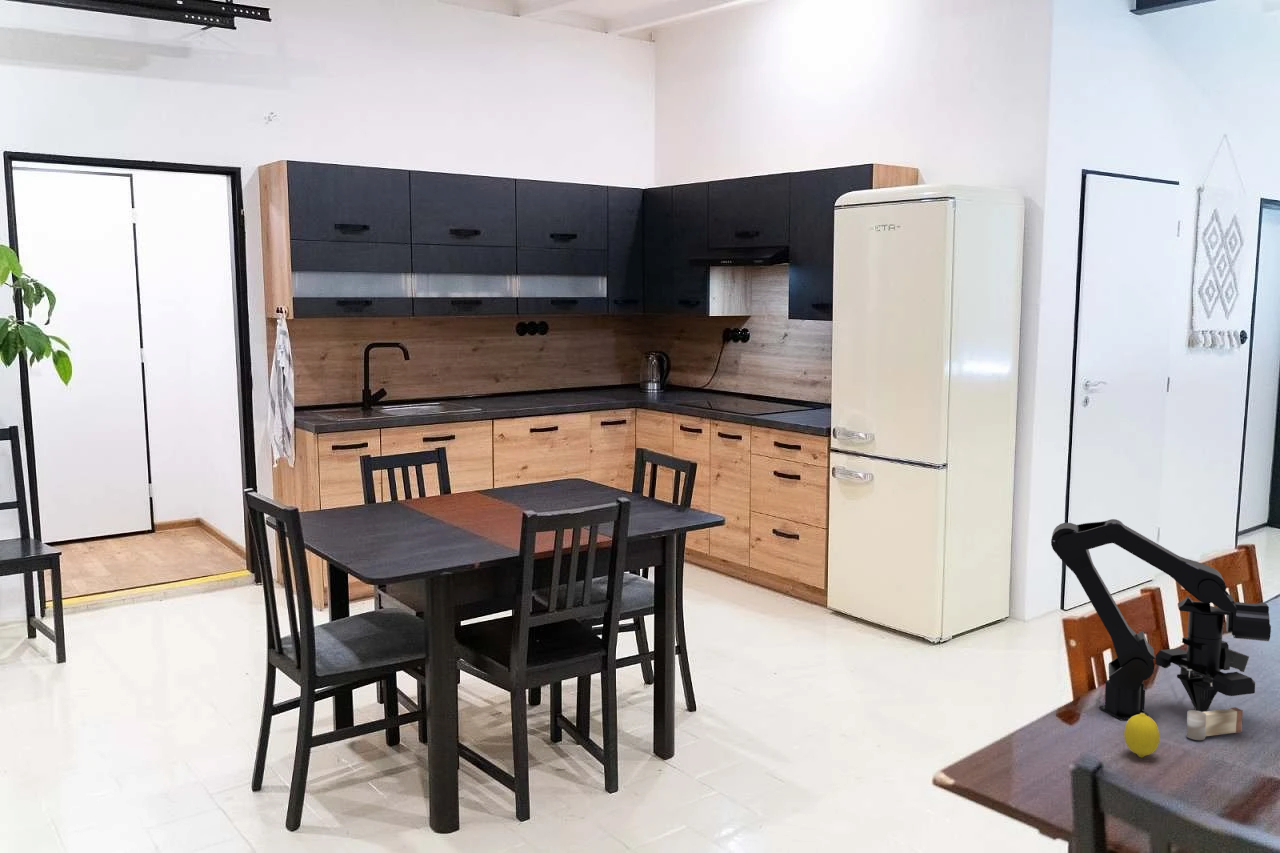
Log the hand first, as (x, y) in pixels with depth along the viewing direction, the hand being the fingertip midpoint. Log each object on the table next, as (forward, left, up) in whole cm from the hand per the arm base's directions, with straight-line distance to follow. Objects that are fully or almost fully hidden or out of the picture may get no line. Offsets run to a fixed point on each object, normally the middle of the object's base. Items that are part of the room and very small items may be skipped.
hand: (1201, 715), depth 195 cm
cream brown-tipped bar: (-3, -6, -1) cm, 6 cm away
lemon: (-22, -10, -2) cm, 24 cm away
